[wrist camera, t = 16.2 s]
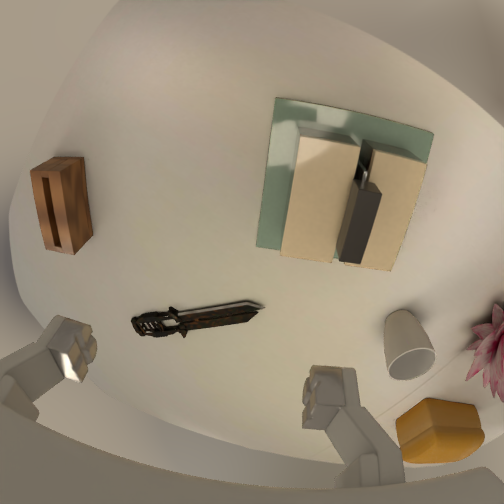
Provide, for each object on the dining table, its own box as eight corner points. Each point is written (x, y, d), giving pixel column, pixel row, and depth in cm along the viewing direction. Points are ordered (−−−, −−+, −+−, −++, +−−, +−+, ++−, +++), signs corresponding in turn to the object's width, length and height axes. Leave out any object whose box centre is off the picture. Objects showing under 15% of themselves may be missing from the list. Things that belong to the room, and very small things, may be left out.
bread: (476, 404, 65) (488, 446, 53) (446, 426, 72) (455, 466, 59) (426, 396, 62) (438, 448, 50) (393, 421, 69) (400, 469, 56)
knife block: (54, 156, 39) (29, 170, 34) (83, 157, 39) (60, 171, 34) (65, 230, 46) (45, 249, 41) (93, 234, 46) (74, 255, 41)
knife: (263, 297, 49) (262, 303, 48) (270, 326, 53) (270, 332, 51) (127, 309, 54) (124, 314, 53) (142, 334, 58) (139, 339, 56)
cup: (368, 332, 51) (378, 378, 43) (391, 298, 47) (406, 344, 39) (405, 339, 52) (417, 382, 43) (428, 307, 47) (446, 351, 39)
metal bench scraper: (343, 151, 35) (361, 179, 27) (362, 155, 35) (385, 184, 27) (326, 224, 41) (336, 269, 32) (344, 227, 41) (357, 272, 32)
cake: (275, 97, 33) (273, 102, 28) (431, 132, 33) (456, 145, 27) (256, 243, 44) (251, 272, 38) (390, 263, 44) (402, 293, 38)
